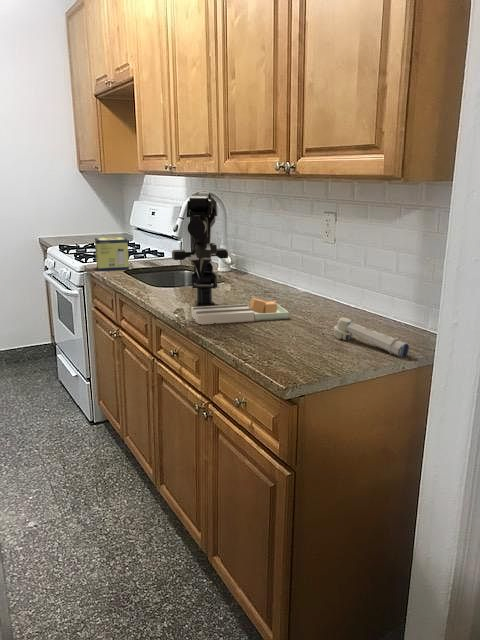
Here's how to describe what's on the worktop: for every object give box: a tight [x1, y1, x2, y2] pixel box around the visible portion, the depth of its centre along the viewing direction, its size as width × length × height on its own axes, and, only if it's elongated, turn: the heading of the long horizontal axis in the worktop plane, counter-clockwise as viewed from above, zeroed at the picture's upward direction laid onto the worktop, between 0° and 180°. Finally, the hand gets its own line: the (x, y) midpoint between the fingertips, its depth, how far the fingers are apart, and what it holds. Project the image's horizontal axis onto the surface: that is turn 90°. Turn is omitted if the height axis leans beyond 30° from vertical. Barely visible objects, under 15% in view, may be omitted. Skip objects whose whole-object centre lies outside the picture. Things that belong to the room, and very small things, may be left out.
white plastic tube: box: [333, 317, 410, 358], centre depth 158 cm, size 5×7×25 cm
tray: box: [247, 303, 290, 322], centre depth 191 cm, size 12×12×2 cm
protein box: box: [94, 236, 130, 272], centre depth 279 cm, size 10×16×16 cm
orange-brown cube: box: [248, 297, 267, 313], centre depth 189 cm, size 4×4×4 cm
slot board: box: [191, 303, 255, 325], centre depth 186 cm, size 12×19×4 cm, turn 105°
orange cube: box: [263, 300, 278, 314], centre depth 190 cm, size 4×4×4 cm
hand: (200, 278), depth 192 cm, fingers closed
